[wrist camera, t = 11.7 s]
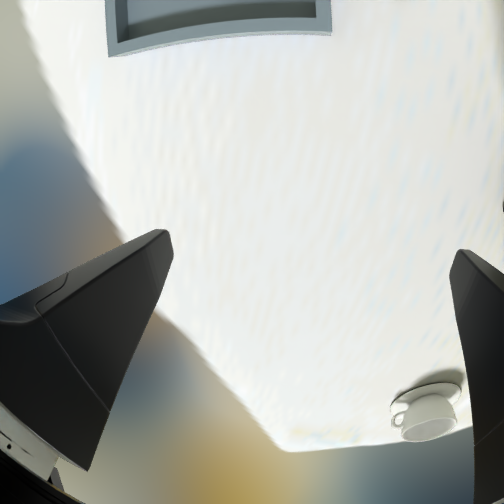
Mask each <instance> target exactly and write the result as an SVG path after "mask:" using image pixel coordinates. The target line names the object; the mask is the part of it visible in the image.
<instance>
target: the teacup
mask: <svg viewBox="0 0 504 504" xmlns="http://www.w3.org/2000/svg"><path fill="white" fill-rule="evenodd" d="M460 396H461V389H460V388H459V387H458V386H457V385H455V384H451V383H436V384H430V385H426V386H422V387H419V388H416V389H414V390H411V391H409V392H407V393H405V394H403V395H402V396H400V397H399V398H398V399H396V400H395V401H394V402H393V404H392V405H391V407H390V412H391V414H392V415H393V418H392V420H391V426H392V428H393V429H395V430H399V429H401V430H402V433H401V437H402V439H403V440H405V441H409V442H421V441H427V440H431V439H435V438H438V437H440V436H442V435H444V434H446V433H448V432H450V431H451V430H452V429H453V428H454V427H455V426H456V424H457V419H456V416H455V413H454V409H453V407H452V406H453V405H454V404H455V403H456V402H457V401H458V399H459V398H460ZM395 418H398V419H402V420H403V421H402V423H401V424H400V425H396V424H395Z"/></svg>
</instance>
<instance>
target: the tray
mask: <svg viewBox="0 0 504 504" xmlns="http://www.w3.org/2000/svg"><path fill="white" fill-rule="evenodd" d="M105 15H106V32H107V45H108V57H118V56H127V55H131V54H135V53H139V52H143V51H147V50H152V49H157V48H162V47H167V46H172V45H177V44H183V43H189V42H196V41H203V40H211V39H219V38H229V37H240V36H255V35H281V34H304V35H330V36H331V33H332V16H331V0H105Z"/></svg>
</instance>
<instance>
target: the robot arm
mask: <svg viewBox="0 0 504 504" xmlns="http://www.w3.org/2000/svg"><path fill="white" fill-rule="evenodd" d="M503 212H504V208H503ZM173 255H174V253H173V247H172V243H171V238H170V234H169V232H168V231H167V230H165V229H155V230H153V231H150V232H148V233H146V234H144V235H142V236H140V237H138V238H135V239H133V240H131V241H129V242H127V243H125V244H123V245H121V246H119V247H117V248H115V249H112V250H110V251H108V252H106V253H105V254H102V255H100V256H98V257H97V258H94V259H92V260H90V261H88V262H86V263H84V264H82V265H80V266H78V267H76V268H74V269H72V270H71V271H69V273H68V272H67V273H65V274H63V275H61V276H59V277H57V278H55V279H53V280H51V281H49V282H47V283H45V284H43V285H41V286H39V287H37V288H35V289H33V290H31V291H29V292H27V293H24V294H22V295H20V296H18V297H16V298H14V299H12V300H10V301H8V302H6V303H4V304H1V305H0V504H85V503H83V502H81V501H79V500H77V499H76V498H74V497H72V496H71V495H69V494H67V493H65V492H64V489H63V486H62V483H61V480H60V477H59V473H58V470H57V468H55V467H54V466H55V464H56V462H57V459H58V457H60V458H62V459H64V460H66V461H67V462H69V463H71V464H73V465H75V466H77V467H79V468H81V469H82V470H84V471H88V470H89V468H90V466H91V462H92V460H93V457H94V454H95V451H96V449H97V445H98V443H99V440H100V437H101V435H102V432H103V430H104V427H105V424H106V422H107V419H108V417H109V414H110V411H111V408H112V406H113V403H114V401H115V398H116V396H117V393H118V391H119V389H120V386H121V384H122V381H123V378H124V376H125V374H126V372H127V369H128V367H129V365H130V362H131V360H132V358H133V355H134V353H135V350H136V348H137V346H138V344H139V341H140V339H141V337H142V335H143V332H144V330H145V328H146V326H147V324H148V321H149V319H150V317H151V315H152V313H153V310H154V308H155V306H156V304H157V302H158V299H159V297H160V295H161V292H162V289H163V286H164V283H165V280H166V277H167V275H168V272H169V269H170V266H171V263H172V260H173ZM449 278H450V284H451V290H452V296H453V303H454V310H455V316H456V321H457V326H458V331H459V335H460V340H461V345H462V350H463V355H464V361H465V366H466V372H467V379H468V386H469V393H470V401H471V411H472V421H473V435H474V445H475V446H474V474H475V475H474V502H473V504H500V503H503V502H504V274H503V273H502V272H500V271H499V270H498V269H496V268H495V267H493V266H492V265H491V264H489V263H488V262H487V261H485V260H484V259H482V258H481V257H479V256H478V255H477V254H475V253H474V252H472V251H471V250H466V249H459V250H458V251H457V253H456V255H455V258H454V261H453V264H452V267H451V270H450V274H449Z"/></svg>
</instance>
